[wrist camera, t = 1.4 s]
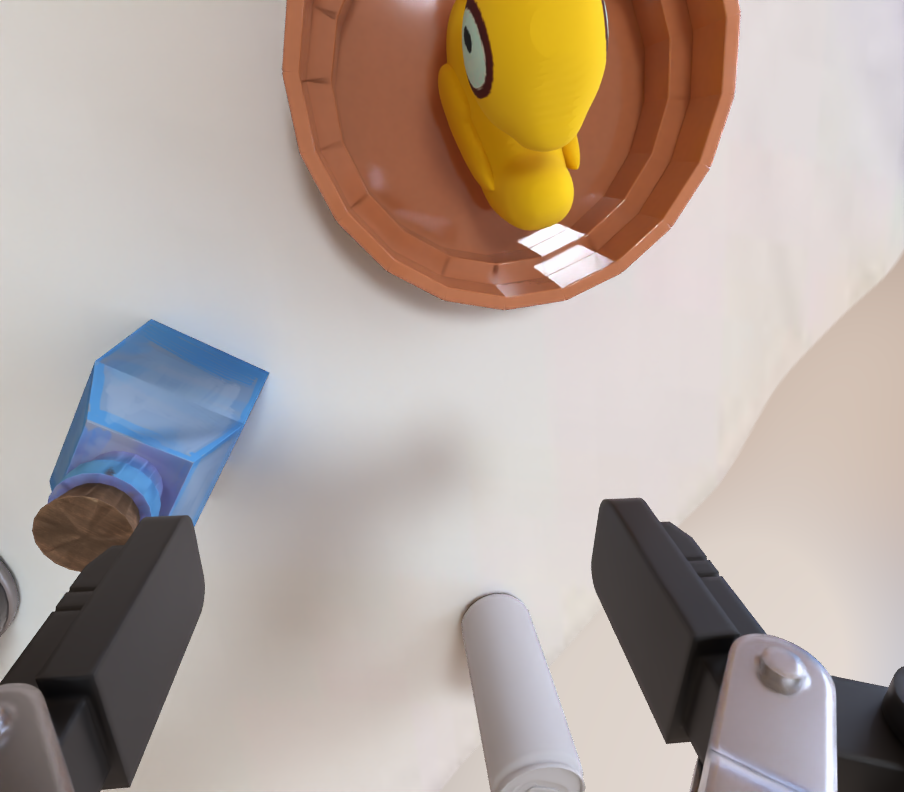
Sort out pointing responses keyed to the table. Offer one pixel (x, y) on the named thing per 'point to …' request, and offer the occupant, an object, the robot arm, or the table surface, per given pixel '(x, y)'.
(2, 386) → the table surface
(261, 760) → the table surface
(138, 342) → the perfume bottle
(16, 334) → the table surface
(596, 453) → the table surface
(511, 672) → the beverage can
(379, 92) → the bowl
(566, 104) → the duckling
